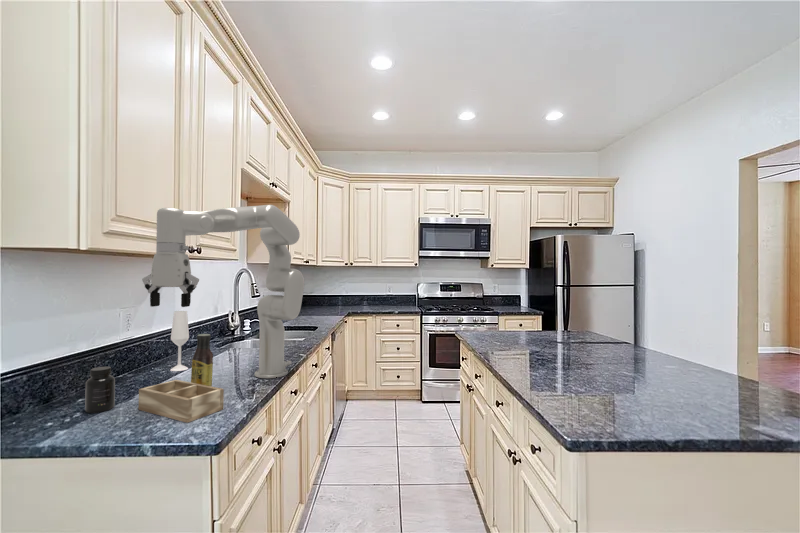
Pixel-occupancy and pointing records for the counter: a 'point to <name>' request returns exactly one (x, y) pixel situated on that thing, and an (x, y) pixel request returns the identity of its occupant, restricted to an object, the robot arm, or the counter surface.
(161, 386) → the rail
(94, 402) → the supplement bottle
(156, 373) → the counter surface
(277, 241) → the robot arm
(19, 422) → the counter surface
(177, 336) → the champagne flute
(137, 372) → the counter surface
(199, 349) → the sauce bottle
